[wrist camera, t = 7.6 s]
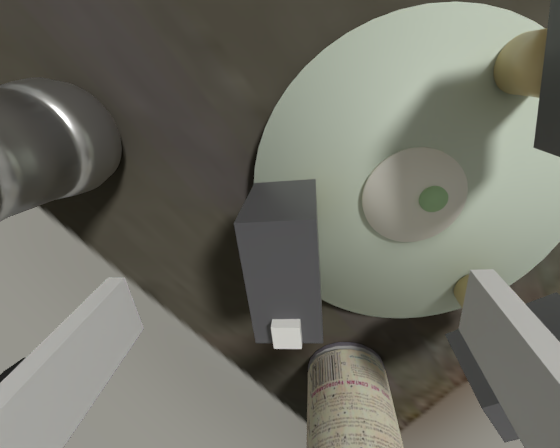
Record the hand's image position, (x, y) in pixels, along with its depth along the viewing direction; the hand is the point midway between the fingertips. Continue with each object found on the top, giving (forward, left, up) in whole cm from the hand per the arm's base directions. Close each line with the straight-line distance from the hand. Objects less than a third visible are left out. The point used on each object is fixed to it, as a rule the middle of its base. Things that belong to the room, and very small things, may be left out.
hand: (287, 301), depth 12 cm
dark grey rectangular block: (0, 0, -9) cm, 9 cm away
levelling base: (+5, +5, -10) cm, 13 cm away
